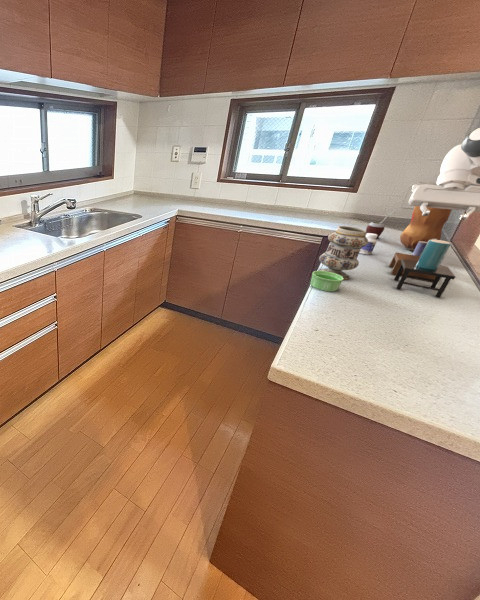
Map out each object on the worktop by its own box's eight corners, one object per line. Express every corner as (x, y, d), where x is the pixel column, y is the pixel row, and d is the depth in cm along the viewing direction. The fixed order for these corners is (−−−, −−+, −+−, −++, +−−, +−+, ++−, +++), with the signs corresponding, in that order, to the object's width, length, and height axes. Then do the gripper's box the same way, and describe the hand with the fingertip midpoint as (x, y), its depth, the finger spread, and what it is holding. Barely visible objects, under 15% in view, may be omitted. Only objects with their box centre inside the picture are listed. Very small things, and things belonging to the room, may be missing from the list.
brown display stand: (428, 273, 129) (435, 258, 126) (433, 282, 120) (441, 267, 117) (388, 266, 135) (395, 252, 132) (390, 274, 126) (398, 259, 124)
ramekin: (307, 279, 119) (311, 268, 117) (336, 285, 116) (341, 273, 114) (309, 288, 112) (314, 277, 110) (341, 294, 109) (346, 282, 107)
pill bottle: (370, 255, 147) (379, 236, 143) (356, 252, 150) (364, 234, 146) (371, 252, 151) (379, 234, 147) (357, 250, 154) (365, 232, 150)
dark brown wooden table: (435, 287, 116) (447, 266, 112) (442, 298, 107) (455, 276, 104) (392, 278, 122) (402, 258, 119) (394, 289, 114) (405, 267, 110)
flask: (409, 262, 140) (421, 237, 135) (407, 260, 142) (419, 236, 138) (438, 266, 136) (452, 241, 131) (436, 264, 138) (449, 239, 133)
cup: (436, 266, 112) (450, 241, 108) (438, 271, 108) (453, 244, 104) (414, 263, 114) (427, 238, 110) (416, 267, 111) (430, 241, 107)
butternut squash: (396, 244, 164) (420, 193, 153) (432, 251, 156) (461, 197, 144) (393, 250, 155) (419, 196, 144) (432, 257, 147) (462, 200, 135)
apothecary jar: (359, 282, 119) (381, 234, 110) (323, 279, 120) (342, 231, 112) (341, 270, 129) (360, 225, 121) (309, 267, 131) (325, 223, 123)
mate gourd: (361, 235, 179) (373, 207, 173) (379, 237, 176) (391, 209, 170) (365, 238, 173) (377, 210, 167) (383, 240, 170) (396, 211, 164)
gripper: (417, 176, 118) (407, 207, 115) (501, 181, 107) (492, 216, 104) (410, 188, 123) (400, 218, 120) (489, 194, 112) (480, 227, 109)
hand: (444, 217), depth 112 cm, fingers open, 8 cm apart
